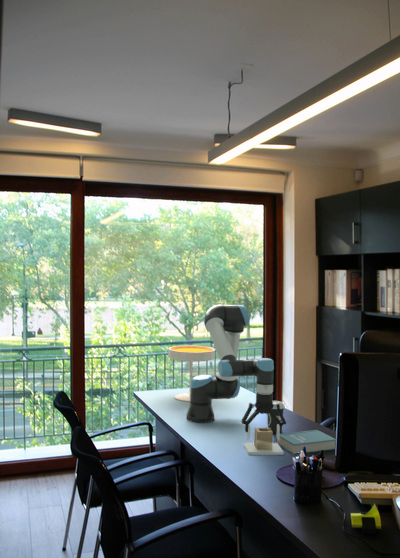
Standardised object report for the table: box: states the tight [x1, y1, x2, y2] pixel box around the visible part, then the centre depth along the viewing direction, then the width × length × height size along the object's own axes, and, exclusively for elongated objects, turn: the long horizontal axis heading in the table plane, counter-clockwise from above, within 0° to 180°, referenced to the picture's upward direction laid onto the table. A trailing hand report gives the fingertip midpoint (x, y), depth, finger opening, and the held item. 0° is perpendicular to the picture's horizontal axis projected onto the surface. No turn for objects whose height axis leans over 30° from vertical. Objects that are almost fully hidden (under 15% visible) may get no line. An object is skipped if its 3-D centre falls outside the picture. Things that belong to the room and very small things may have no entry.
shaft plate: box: [242, 442, 285, 456], centre depth 244 cm, size 16×13×6 cm
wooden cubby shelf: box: [253, 426, 274, 450], centre depth 244 cm, size 7×7×9 cm
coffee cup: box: [266, 400, 286, 435], centre depth 271 cm, size 10×10×15 cm
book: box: [275, 429, 337, 455], centre depth 251 cm, size 23×16×5 cm
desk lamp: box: [167, 345, 216, 403], centre depth 338 cm, size 30×30×31 cm
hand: (263, 439), depth 244 cm, fingers open, 13 cm apart
